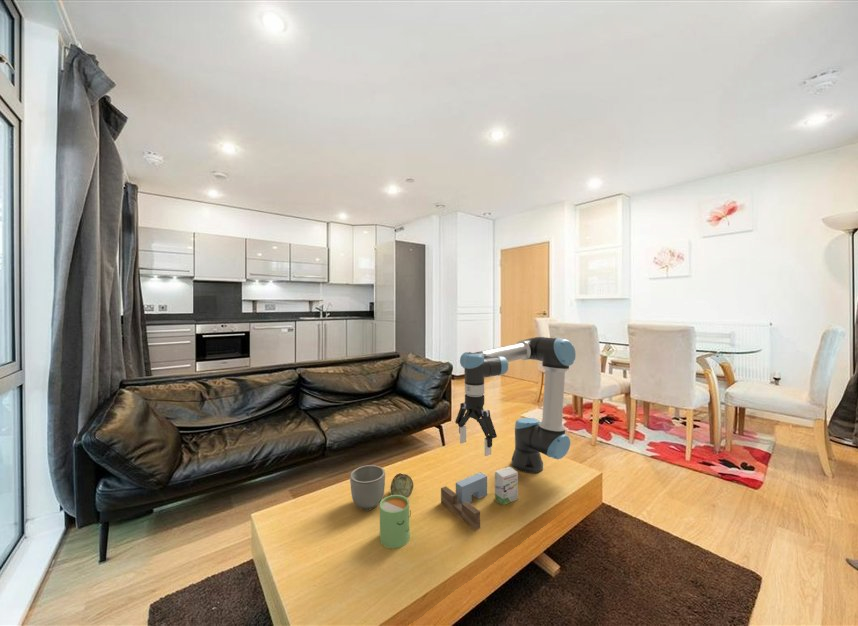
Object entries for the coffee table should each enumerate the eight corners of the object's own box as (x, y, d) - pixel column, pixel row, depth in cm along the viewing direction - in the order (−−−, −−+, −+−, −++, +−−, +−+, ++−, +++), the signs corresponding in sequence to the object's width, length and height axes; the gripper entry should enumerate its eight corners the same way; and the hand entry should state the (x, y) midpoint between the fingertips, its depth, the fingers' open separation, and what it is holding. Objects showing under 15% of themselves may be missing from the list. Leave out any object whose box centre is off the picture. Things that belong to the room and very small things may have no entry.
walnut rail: (445, 500, 133) (445, 486, 133) (480, 527, 117) (480, 511, 117) (441, 502, 132) (441, 488, 132) (475, 530, 116) (475, 513, 116)
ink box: (502, 505, 130) (502, 476, 129) (494, 499, 134) (494, 471, 134) (518, 499, 134) (518, 471, 134) (510, 493, 138) (510, 466, 138)
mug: (398, 553, 105) (398, 516, 105) (374, 541, 111) (373, 506, 111) (419, 530, 116) (419, 497, 116) (396, 520, 122) (396, 488, 121)
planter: (391, 499, 134) (391, 468, 134) (372, 520, 122) (372, 486, 121) (364, 491, 140) (363, 462, 140) (343, 510, 127) (342, 477, 127)
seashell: (418, 491, 140) (418, 468, 140) (408, 507, 129) (408, 482, 129) (396, 487, 144) (396, 464, 143) (384, 502, 133) (384, 477, 133)
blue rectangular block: (480, 490, 141) (480, 472, 140) (487, 494, 137) (487, 476, 137) (455, 501, 133) (455, 482, 132) (462, 506, 129) (462, 486, 129)
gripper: (446, 389, 133) (447, 440, 134) (491, 403, 113) (492, 463, 114) (460, 386, 138) (460, 435, 138) (506, 399, 118) (506, 457, 118)
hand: (475, 448), depth 126 cm, fingers open, 13 cm apart
